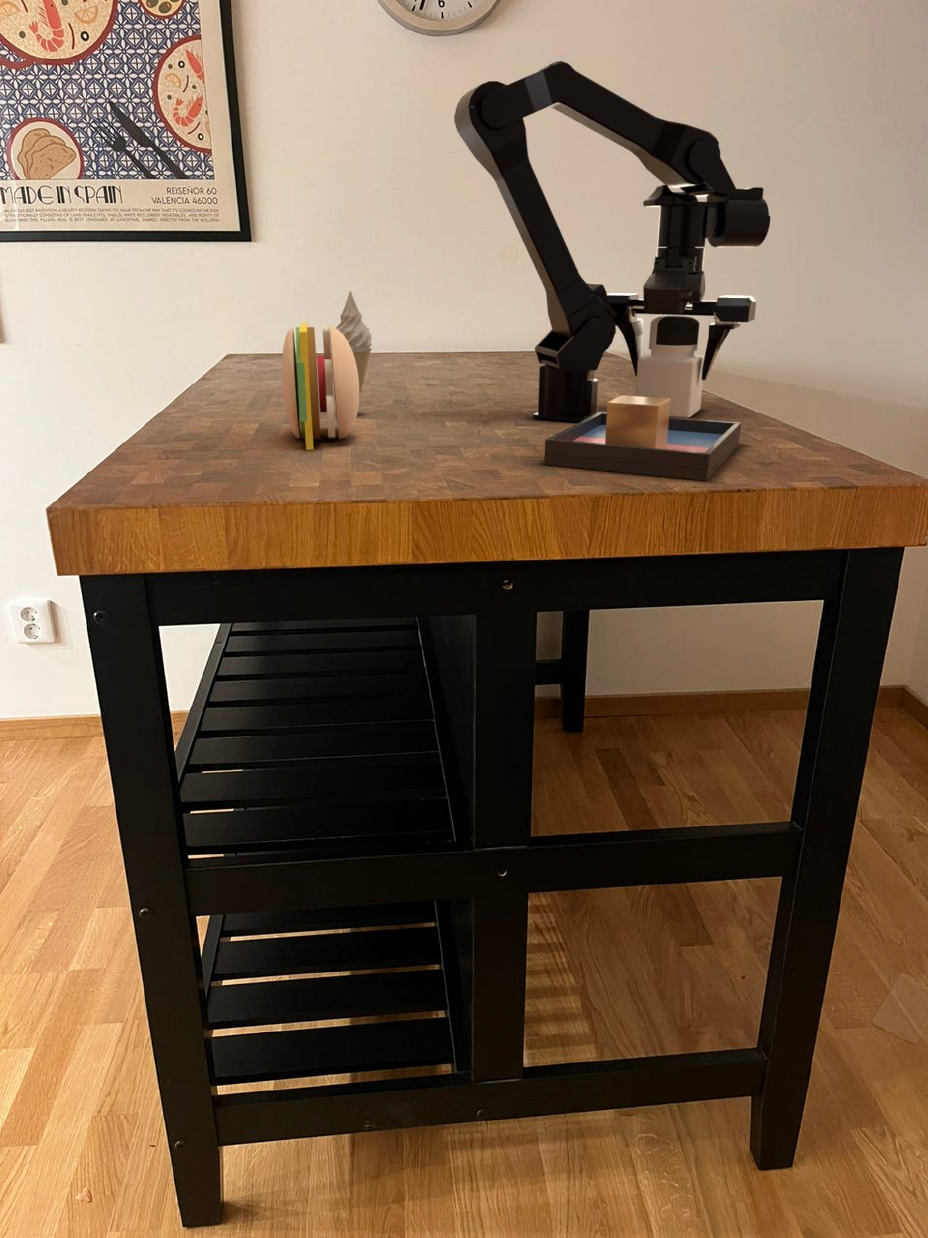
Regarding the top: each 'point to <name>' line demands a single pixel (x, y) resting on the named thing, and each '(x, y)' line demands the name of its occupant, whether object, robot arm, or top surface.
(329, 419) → the hamburger
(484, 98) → the robot arm
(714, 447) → the tray
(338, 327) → the ice cream cone
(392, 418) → the top surface
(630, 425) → the brass block
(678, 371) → the white square bottle
